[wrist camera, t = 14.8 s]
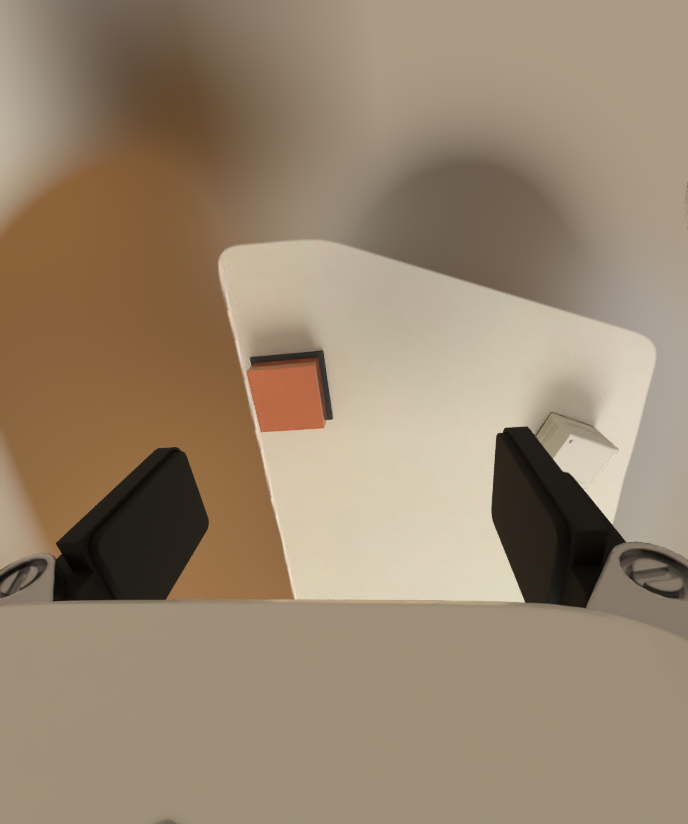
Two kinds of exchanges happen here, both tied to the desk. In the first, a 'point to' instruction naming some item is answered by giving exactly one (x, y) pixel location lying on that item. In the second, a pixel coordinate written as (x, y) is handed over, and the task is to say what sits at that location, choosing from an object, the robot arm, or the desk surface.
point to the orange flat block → (288, 394)
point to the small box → (576, 448)
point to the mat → (302, 356)
